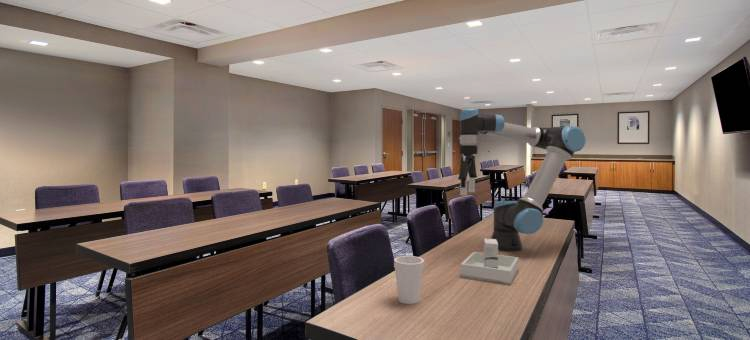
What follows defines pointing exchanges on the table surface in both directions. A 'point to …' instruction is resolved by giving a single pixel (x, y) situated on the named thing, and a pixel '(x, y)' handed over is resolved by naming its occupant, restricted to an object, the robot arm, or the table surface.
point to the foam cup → (408, 278)
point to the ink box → (490, 253)
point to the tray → (489, 269)
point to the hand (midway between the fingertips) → (467, 193)
